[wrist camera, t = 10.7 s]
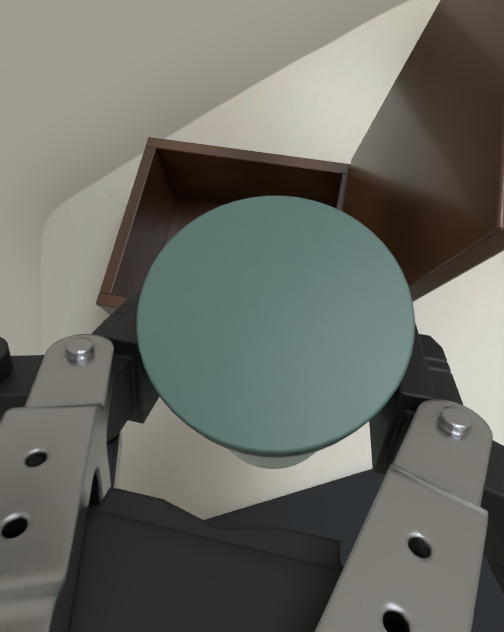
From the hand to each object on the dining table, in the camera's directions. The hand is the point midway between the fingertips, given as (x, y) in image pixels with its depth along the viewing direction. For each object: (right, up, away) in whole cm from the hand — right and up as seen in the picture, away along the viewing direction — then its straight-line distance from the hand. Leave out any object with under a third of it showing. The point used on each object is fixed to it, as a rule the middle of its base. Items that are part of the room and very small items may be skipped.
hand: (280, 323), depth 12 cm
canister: (0, -3, +5) cm, 6 cm away
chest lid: (+5, +6, +7) cm, 11 cm away
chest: (-2, +4, +22) cm, 23 cm away
